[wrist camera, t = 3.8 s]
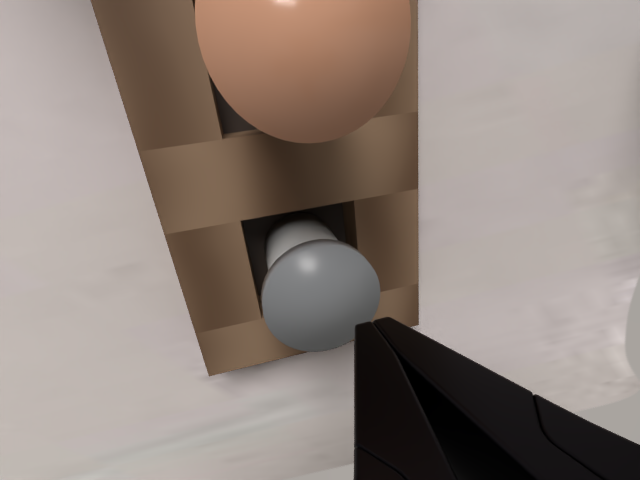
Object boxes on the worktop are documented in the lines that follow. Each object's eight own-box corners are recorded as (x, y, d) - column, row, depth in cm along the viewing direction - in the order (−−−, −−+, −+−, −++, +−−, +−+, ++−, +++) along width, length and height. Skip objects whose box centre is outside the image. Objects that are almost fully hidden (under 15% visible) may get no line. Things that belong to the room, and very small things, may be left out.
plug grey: (337, 196, 19) (377, 235, 14) (345, 275, 21) (382, 336, 15) (246, 212, 18) (251, 260, 13) (263, 292, 20) (273, 363, 15)
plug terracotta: (335, -27, 12) (409, -115, 7) (347, 116, 14) (412, 128, 9) (196, -17, 12) (165, -106, 6) (227, 133, 14) (223, 157, 8)
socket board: (389, -97, 15) (417, -130, 13) (400, 302, 23) (418, 324, 21) (84, -83, 13) (52, -120, 11) (211, 346, 21) (209, 376, 19)
